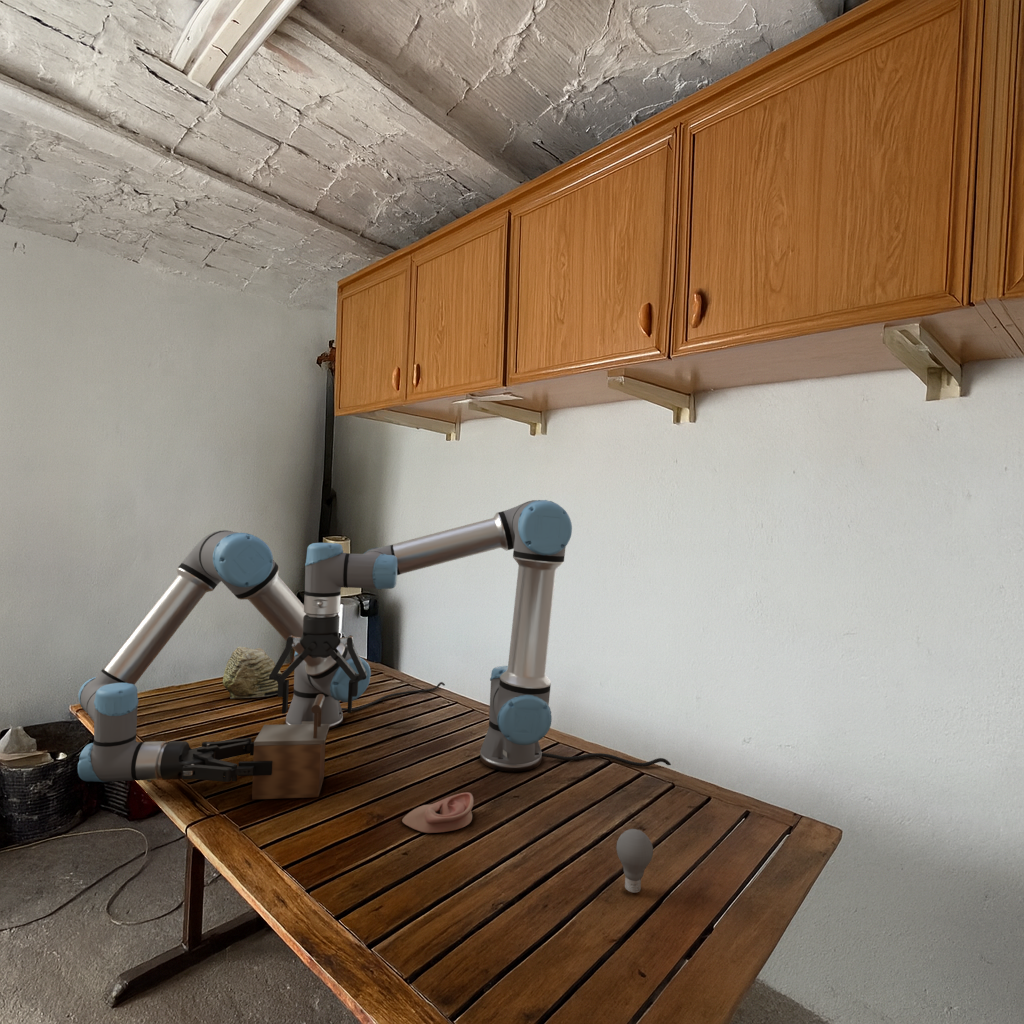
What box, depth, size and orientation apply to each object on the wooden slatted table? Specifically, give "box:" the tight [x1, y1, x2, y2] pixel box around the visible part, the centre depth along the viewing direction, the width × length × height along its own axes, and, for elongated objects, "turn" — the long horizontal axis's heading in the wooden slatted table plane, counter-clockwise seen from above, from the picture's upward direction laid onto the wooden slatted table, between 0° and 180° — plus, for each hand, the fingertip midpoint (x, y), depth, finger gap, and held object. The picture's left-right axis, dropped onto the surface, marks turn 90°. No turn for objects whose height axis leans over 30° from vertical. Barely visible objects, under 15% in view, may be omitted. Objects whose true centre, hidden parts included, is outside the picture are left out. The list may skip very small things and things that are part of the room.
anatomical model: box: [401, 791, 474, 834], centre depth 126 cm, size 13×4×12 cm
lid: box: [253, 694, 330, 746], centre depth 137 cm, size 14×10×8 cm
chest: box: [251, 739, 327, 801], centre depth 137 cm, size 13×10×11 cm
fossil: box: [222, 646, 283, 699], centre depth 198 cm, size 9×18×15 cm, turn 132°
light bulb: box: [615, 828, 654, 894], centre depth 106 cm, size 6×6×10 cm
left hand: (276, 757), depth 137 cm, fingers closed on chest, 10 cm apart
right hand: (317, 711), depth 138 cm, fingers open, 13 cm apart
